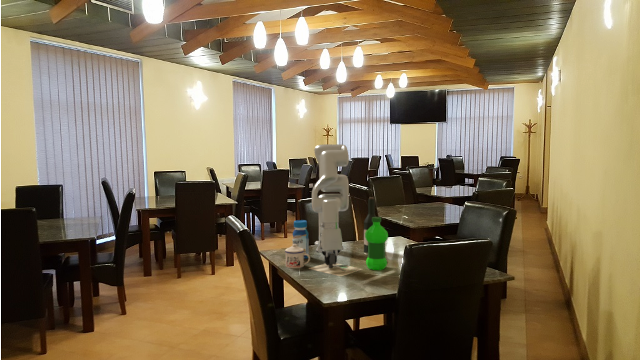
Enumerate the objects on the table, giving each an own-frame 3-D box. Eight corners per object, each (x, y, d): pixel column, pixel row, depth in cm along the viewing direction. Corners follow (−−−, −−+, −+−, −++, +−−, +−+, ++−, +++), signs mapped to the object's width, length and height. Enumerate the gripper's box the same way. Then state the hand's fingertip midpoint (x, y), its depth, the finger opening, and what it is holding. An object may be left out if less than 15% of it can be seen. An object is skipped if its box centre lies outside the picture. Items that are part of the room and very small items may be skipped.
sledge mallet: (330, 269, 213) (330, 254, 213) (326, 266, 219) (326, 251, 218) (349, 267, 216) (349, 253, 215) (345, 264, 222) (345, 250, 221)
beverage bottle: (312, 259, 237) (312, 220, 236) (300, 262, 231) (300, 223, 230) (300, 256, 243) (300, 219, 241) (289, 259, 237) (288, 221, 235)
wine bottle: (362, 250, 257) (362, 196, 255) (377, 249, 258) (377, 196, 256) (365, 253, 249) (365, 198, 247) (380, 253, 250) (380, 198, 247)
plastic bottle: (387, 273, 210) (387, 219, 208) (364, 273, 211) (364, 219, 209) (388, 268, 219) (388, 216, 217) (365, 267, 221) (365, 215, 219)
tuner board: (308, 270, 215) (308, 268, 215) (330, 264, 227) (330, 261, 227) (340, 279, 202) (340, 276, 202) (363, 271, 214) (363, 268, 213)
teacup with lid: (283, 270, 217) (282, 246, 216) (287, 265, 226) (287, 242, 225) (308, 271, 215) (307, 246, 214) (311, 266, 224) (311, 242, 223)
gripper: (317, 228, 208) (317, 268, 210) (349, 225, 214) (349, 264, 216) (311, 225, 215) (311, 264, 217) (343, 223, 221) (343, 260, 223)
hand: (330, 263), depth 216 cm, fingers closed on sledge mallet, 2 cm apart
